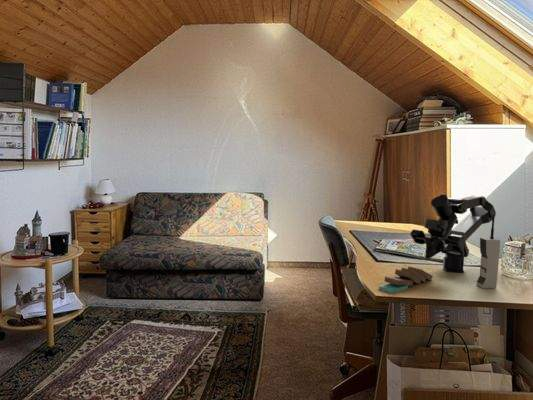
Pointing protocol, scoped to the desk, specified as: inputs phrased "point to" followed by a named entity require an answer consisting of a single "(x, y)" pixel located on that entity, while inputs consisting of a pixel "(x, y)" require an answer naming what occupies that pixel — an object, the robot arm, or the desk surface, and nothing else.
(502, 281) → the desk surface
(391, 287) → the domino
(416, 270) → the domino
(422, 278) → the domino
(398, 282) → the domino
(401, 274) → the domino
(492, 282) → the vintage mobile phone
